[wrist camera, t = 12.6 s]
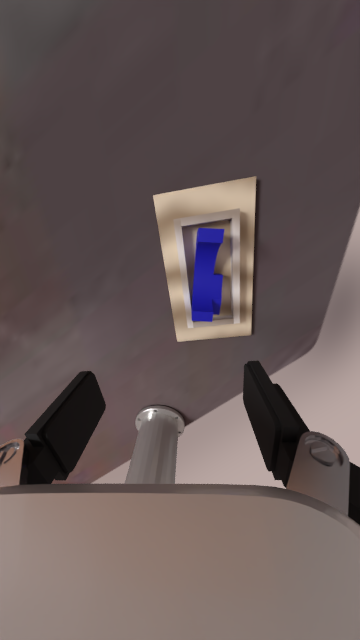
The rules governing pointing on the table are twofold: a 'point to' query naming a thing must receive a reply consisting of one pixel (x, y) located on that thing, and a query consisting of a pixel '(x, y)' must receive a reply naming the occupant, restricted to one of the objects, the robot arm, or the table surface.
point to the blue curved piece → (206, 275)
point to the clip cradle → (232, 258)
